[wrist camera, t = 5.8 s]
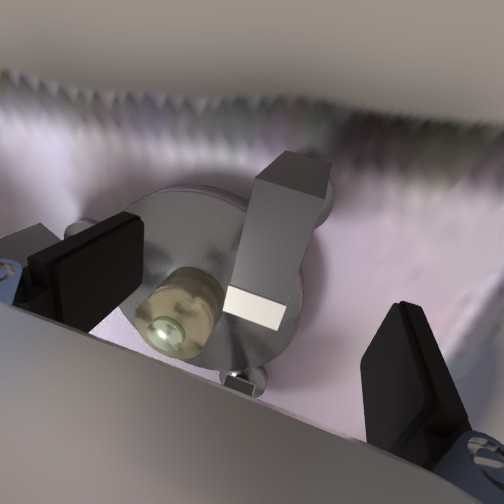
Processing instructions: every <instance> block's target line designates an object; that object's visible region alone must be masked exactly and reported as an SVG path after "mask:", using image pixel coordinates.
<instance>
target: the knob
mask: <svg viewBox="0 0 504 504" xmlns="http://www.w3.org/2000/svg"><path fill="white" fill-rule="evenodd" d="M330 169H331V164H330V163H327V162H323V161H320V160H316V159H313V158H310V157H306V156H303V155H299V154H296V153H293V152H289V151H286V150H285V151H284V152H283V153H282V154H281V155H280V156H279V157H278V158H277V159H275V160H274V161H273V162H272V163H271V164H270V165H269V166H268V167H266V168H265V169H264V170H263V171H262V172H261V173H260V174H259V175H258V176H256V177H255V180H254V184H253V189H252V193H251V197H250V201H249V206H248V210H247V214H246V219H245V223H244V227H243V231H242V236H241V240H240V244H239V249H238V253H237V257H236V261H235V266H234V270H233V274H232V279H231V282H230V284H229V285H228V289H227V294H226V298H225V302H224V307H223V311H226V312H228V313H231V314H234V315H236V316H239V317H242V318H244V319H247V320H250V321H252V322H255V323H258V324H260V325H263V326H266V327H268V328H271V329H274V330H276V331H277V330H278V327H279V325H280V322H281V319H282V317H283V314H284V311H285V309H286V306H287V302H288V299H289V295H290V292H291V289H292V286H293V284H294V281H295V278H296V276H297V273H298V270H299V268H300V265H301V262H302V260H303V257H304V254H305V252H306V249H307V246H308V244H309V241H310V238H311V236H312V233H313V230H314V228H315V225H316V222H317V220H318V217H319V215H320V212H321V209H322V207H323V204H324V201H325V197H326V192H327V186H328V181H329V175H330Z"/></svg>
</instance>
